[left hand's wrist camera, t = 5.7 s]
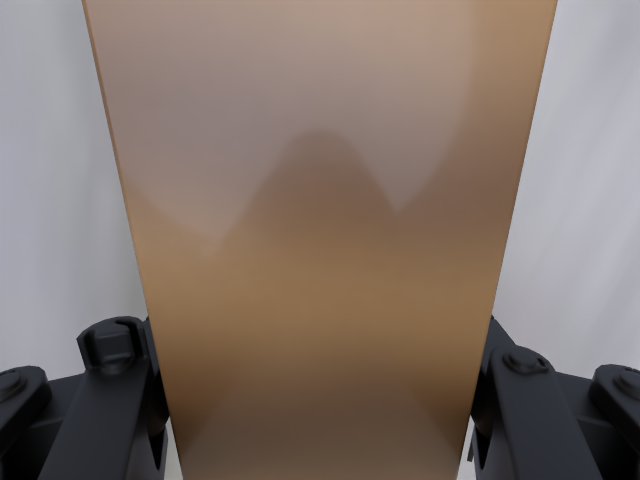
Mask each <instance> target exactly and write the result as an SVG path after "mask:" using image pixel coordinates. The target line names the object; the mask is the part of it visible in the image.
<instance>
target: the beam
mask: <svg viewBox="0 0 640 480" xmlns="http://www.w3.org/2000/svg"><path fill="white" fill-rule="evenodd" d="M557 1H558V0H82V4H83V9H84V13H85V18H86V23H87V28H88V32H89V37H90V42H91V47H92V51H93V56H94V61H95V65H96V70H97V75H98V80H99V84H100V89H101V94H102V98H103V103H104V108H105V113H106V117H107V122H108V127H109V131H110V136H111V141H112V146H113V150H114V155H115V160H116V164H117V169H118V174H119V179H120V183H121V188H122V193H123V198H124V202H125V207H126V212H127V216H128V221H129V226H130V231H131V235H132V240H133V245H134V249H135V254H136V259H137V264H138V268H139V273H140V278H141V282H142V287H143V292H144V297H145V301H146V306H147V311H148V315H149V320H150V325H151V330H152V334H153V339H154V344H155V349H156V353H157V358H158V363H159V367H160V372H161V377H162V382H163V386H164V391H165V396H166V400H167V405H168V410H169V415H170V419H171V424H172V429H173V433H174V438H175V443H176V448H177V452H178V457H179V462H180V466H181V471H182V476H183V480H456V479H457V474H458V470H459V465H460V460H461V456H462V451H463V446H464V441H465V437H466V432H467V427H468V422H469V418H470V413H471V408H472V404H473V399H474V394H475V389H476V385H477V380H478V375H479V370H480V366H481V361H482V356H483V351H484V347H485V342H486V337H487V333H488V328H489V323H490V318H491V314H492V309H493V304H494V299H495V295H496V290H497V285H498V281H499V276H500V271H501V266H502V262H503V257H504V252H505V247H506V243H507V238H508V233H509V229H510V224H511V219H512V214H513V210H514V205H515V200H516V195H517V191H518V186H519V181H520V176H521V172H522V167H523V162H524V158H525V153H526V148H527V143H528V139H529V134H530V129H531V124H532V120H533V115H534V110H535V106H536V101H537V96H538V91H539V87H540V82H541V77H542V72H543V68H544V63H545V58H546V53H547V49H548V44H549V39H550V35H551V30H552V25H553V20H554V16H555V11H556V6H557Z"/></svg>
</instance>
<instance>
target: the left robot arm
mask: <svg viewBox="0 0 640 480" xmlns="http://www.w3.org/2000/svg"><path fill="white" fill-rule="evenodd" d="M77 342H78V346H79V349H80V352H81V355H82V359H83V362H84V365H85V368H86V370H85V372H84V373H82V374H79V375H75V376H70V377H65V378H61V379H56V380H51V381H48V379H47V377H46V374H45V371H44V370H42V369H41V368H40V367H36V366H23V367H17V368H13V369H9V370H6V371H3V372H1V373H0V480H164V473H165V464H166V454H167V445H168V435H167V429H166V425H165V424H166V422H167V420H168V418H169V416H170V415H169V410H168V405H167V400H166V396H165V391H164V386H163V382H162V377H161V372H160V367H159V363H158V358H157V353H156V349H155V344H154V339H153V334H152V330H151V325H150V320H149V315H148V317H147V318H146V321H144V322H142V321H141V320H140V319H138V318H135V317H130V316H123V317H114V318H110V319H106V320H103V321H101V322H98V323H96V324H94V325H92V326H90V327H89V328H87V329H86V330H84V331H83V332H82V333H81V334H80V335H79V336H78V337H77ZM470 415H471V417H472V419H473V421H474V423H475V425H474V429H473V434H472V438H471V443H470V447H469V452H468V458H467V461H470V462H472V459H473V455H474V463H475V472H476V480H640V371H639V370H636V369H632V368H630V367H626V366H621V365H614V364H608V365H601V366H600V367H598V368H597V369H596V370H595V373H594V376H593V378H592V380H591V379H587V378H582V377H577V376H573V375H568V374H563V373H560V372H556V371H555V369H554V368H553V366H552V365H551V364H550V362H549V361H548V360H547V359H545V358H544V357H543V356H541V355H540V354H539V353H536V352H534V351H532V350H530V349H528V348H525V347H521V346H517V345H516V344H515V343H514V342H513V341H512V339H511V338H510V337H509V336H508V334H507V333H506V332H505V330H504V329H503V328H502V327H501V325H500V324H499V323H498V322H497V320H496V319H494V317H493V315H492V314H491V318H490V323H489V328H488V333H487V337H486V342H485V347H484V351H483V356H482V361H481V366H480V370H479V375H478V380H477V385H476V389H475V394H474V399H473V404H472V408H471V413H470Z"/></svg>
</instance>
